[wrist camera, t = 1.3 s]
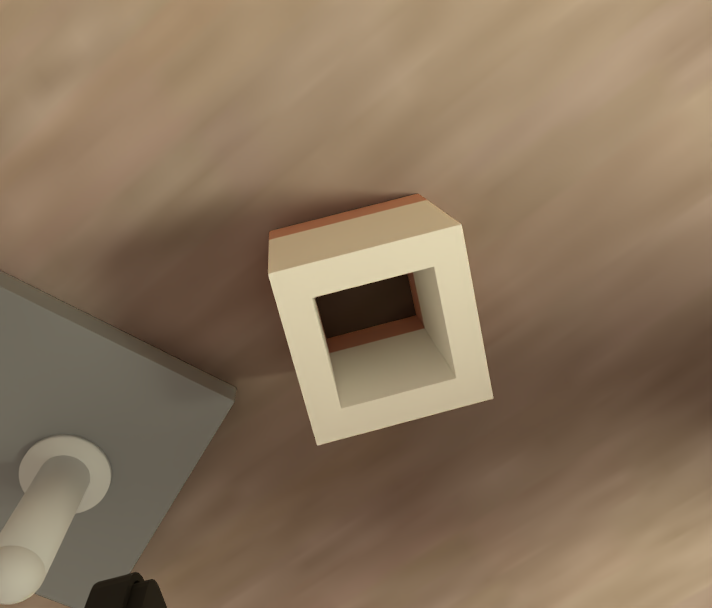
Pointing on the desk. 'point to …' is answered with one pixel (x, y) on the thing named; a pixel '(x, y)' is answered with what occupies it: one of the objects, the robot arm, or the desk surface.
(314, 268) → the sleeve
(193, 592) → the desk surface
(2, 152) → the desk surface
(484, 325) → the desk surface
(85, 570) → the pin board
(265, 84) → the desk surface
